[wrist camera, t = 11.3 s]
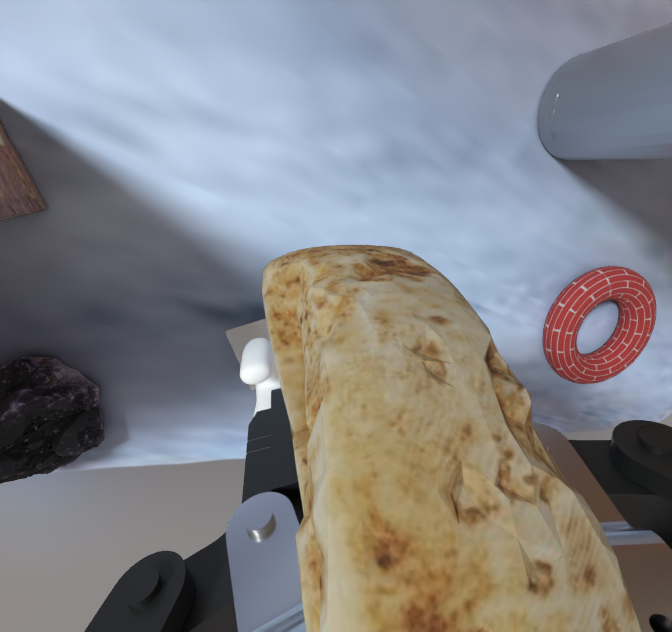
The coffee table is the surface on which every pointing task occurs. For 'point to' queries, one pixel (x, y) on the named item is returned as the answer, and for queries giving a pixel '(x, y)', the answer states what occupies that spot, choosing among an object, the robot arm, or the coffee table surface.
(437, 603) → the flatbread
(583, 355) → the torus
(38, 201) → the brown wooden box
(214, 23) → the coffee table surface
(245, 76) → the coffee table surface
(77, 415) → the black rough rounded lump
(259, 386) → the figurine
